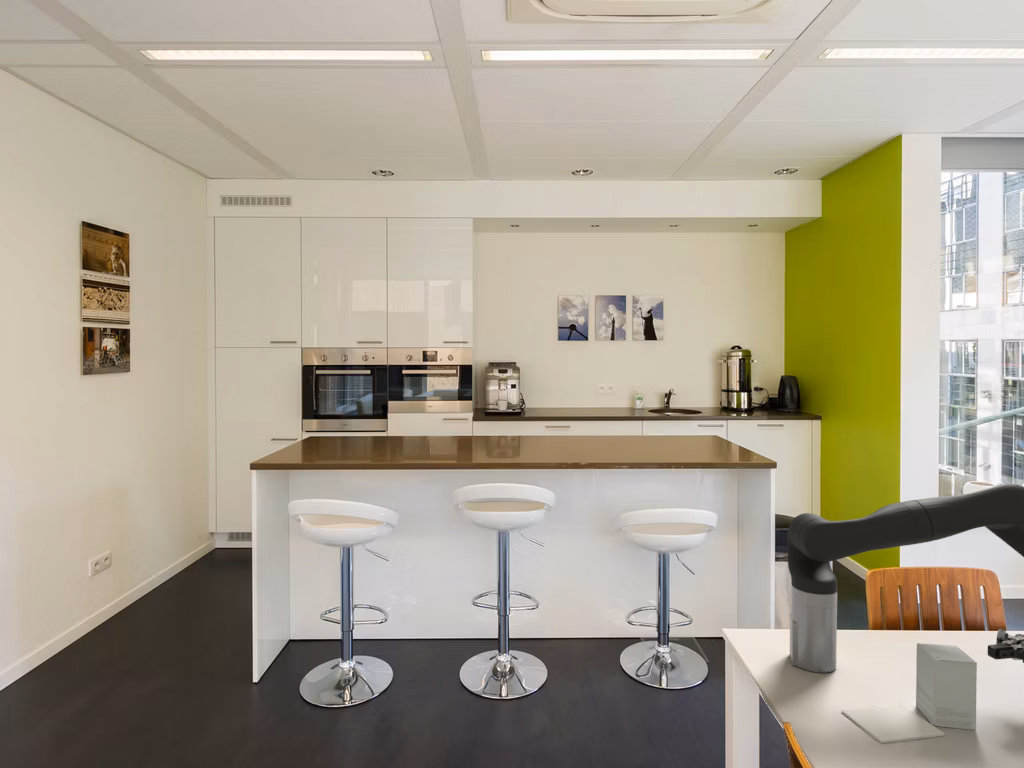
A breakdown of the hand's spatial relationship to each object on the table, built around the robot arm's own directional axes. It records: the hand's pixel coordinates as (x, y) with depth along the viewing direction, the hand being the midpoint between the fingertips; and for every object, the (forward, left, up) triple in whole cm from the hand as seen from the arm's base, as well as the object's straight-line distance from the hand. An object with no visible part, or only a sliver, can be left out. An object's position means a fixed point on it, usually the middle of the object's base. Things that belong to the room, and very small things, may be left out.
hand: (991, 652), depth 118 cm
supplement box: (-9, -5, -12) cm, 16 cm away
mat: (-19, -11, -12) cm, 25 cm away
